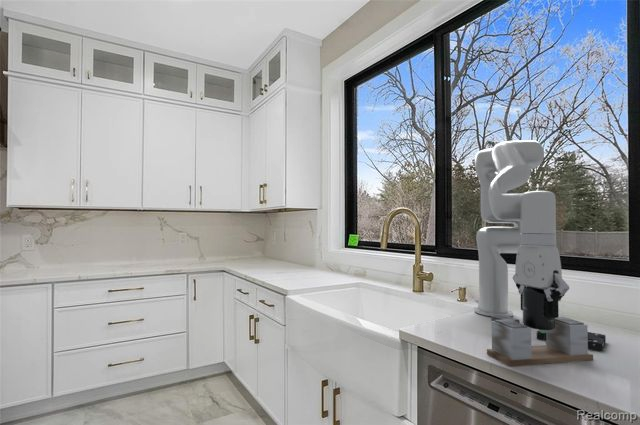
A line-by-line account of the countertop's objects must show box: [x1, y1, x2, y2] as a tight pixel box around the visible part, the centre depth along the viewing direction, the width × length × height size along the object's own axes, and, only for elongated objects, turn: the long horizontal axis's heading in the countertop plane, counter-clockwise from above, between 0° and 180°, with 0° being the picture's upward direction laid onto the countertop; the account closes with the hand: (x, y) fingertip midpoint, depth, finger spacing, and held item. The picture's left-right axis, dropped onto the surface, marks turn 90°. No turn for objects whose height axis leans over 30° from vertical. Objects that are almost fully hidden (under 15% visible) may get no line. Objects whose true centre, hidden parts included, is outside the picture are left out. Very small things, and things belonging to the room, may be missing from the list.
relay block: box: [491, 315, 520, 323], centre depth 105 cm, size 6×4×5 cm, turn 32°
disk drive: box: [536, 329, 607, 352], centre depth 100 cm, size 10×3×15 cm
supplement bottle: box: [522, 287, 555, 331], centre depth 87 cm, size 7×7×12 cm
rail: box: [486, 316, 594, 367], centre depth 87 cm, size 8×23×9 cm, turn 102°
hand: (538, 313), depth 87 cm, fingers closed on supplement bottle, 6 cm apart
